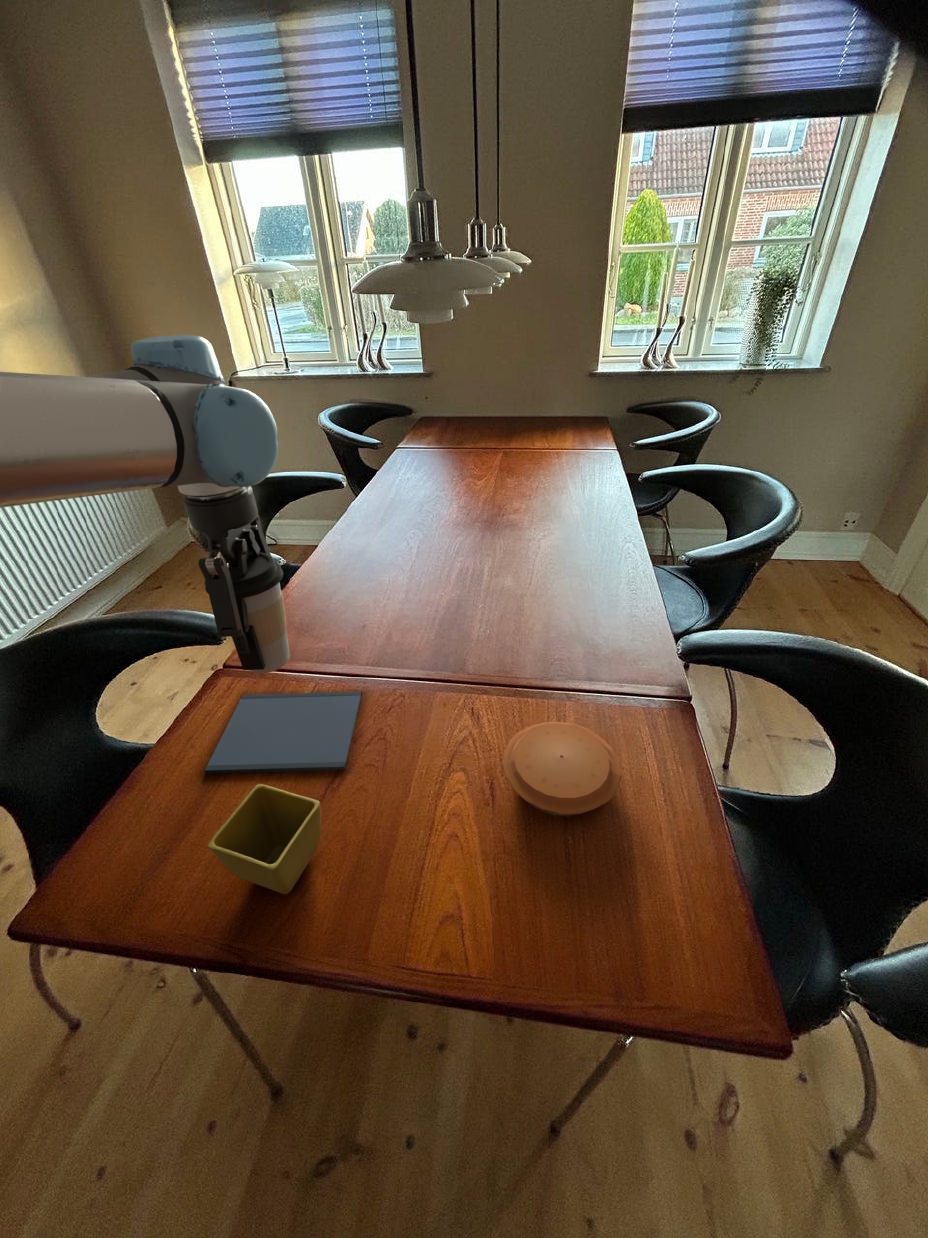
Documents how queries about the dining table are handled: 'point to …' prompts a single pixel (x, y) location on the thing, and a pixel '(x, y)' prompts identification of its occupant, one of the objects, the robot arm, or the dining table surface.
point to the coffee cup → (265, 609)
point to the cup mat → (287, 733)
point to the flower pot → (269, 838)
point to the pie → (561, 768)
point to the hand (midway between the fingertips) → (264, 647)
